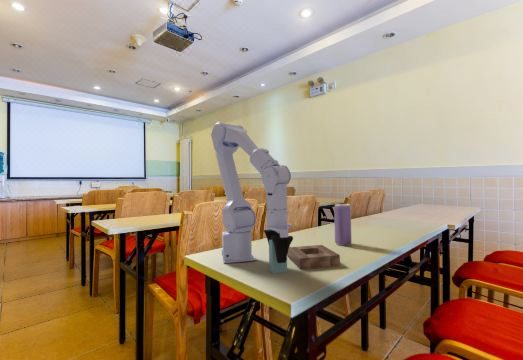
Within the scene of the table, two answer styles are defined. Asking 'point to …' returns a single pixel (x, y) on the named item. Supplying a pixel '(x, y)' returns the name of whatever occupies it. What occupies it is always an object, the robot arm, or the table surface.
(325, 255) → the well block
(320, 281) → the table surface
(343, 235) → the beverage can
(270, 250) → the bracket post
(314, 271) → the table surface
